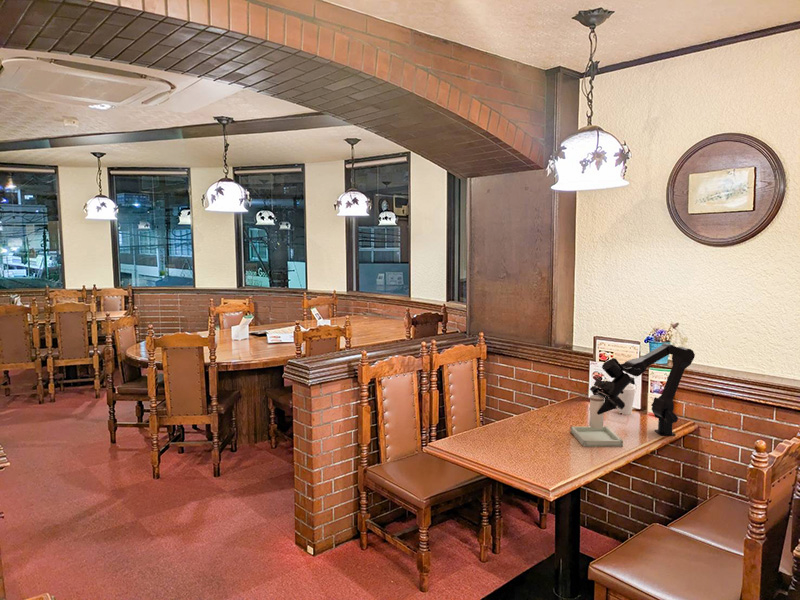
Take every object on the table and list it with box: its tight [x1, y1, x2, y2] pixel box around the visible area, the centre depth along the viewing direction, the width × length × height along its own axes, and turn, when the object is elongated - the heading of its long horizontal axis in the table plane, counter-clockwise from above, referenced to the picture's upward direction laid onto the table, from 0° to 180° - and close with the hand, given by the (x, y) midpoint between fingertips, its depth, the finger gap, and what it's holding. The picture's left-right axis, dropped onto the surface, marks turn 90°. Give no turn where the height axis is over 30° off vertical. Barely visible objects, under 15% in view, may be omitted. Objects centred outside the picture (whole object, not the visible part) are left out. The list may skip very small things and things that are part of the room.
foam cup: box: [616, 384, 637, 415], centre depth 276 cm, size 10×9×13 cm
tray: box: [570, 426, 624, 448], centre depth 240 cm, size 18×16×2 cm
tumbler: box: [588, 394, 605, 429], centre depth 239 cm, size 6×6×13 cm
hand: (593, 411), depth 238 cm, fingers closed on tumbler, 6 cm apart
